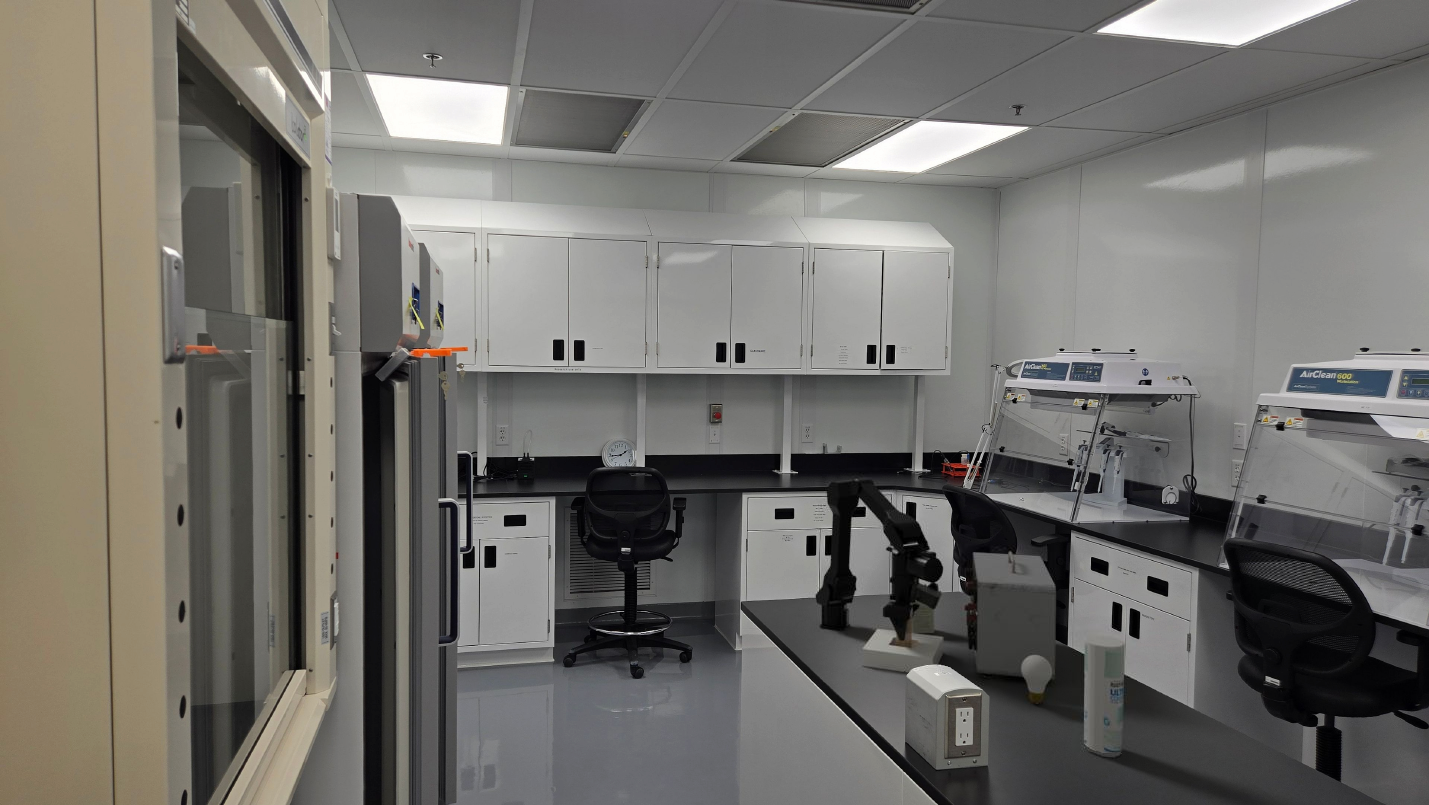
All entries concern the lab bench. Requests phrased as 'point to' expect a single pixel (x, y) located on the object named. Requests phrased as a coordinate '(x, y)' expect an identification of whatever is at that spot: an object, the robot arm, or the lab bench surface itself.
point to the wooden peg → (906, 637)
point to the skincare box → (923, 619)
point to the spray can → (1103, 693)
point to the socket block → (901, 651)
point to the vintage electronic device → (1010, 612)
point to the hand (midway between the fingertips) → (903, 638)
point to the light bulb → (1036, 676)
